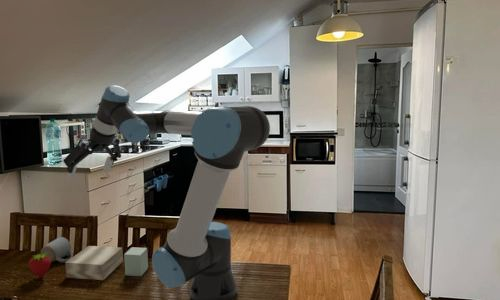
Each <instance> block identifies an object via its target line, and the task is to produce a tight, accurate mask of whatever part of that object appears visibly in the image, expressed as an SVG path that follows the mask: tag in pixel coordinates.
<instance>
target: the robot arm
mask: <svg viewBox="0 0 500 300" xmlns="http://www.w3.org/2000/svg"><path fill="white" fill-rule="evenodd" d="M130 97H131V96H130V93H129V91H128V90H127V89H125V88H124V87H122V86H119V85H108V86H107V87H106V88H105V89H104V92H103V94H102V96H101V100H100V102H99V106H98V109H97V112H96V115H95V117H94V121H93V125H92V127H91V130H90V132H89V139H88V140H83V139H79V141H78V142H77V144H76V146H75V147H74V148H73V149H71V151H70V152H69V153H68V155H67V156H66V157H65V158H64V159H63V161H62V162H63V163H64V165H65V166H66V167H67V168H66V171H67V174H66V177H67V179H68V180H69V181H70V182H72V181H73V180H74V176H75V174H76V171H77V167H78V166H77V165H78V164H80V162H82V161H83V160H85V158H87V157H88V156H89V155H93V153H97V152H103V151H104V150H105V151H106V152H107V154H108V156H107V157H106V160H105V162H104V166H103V167H102V170H103V171H104V173H105V174H109V173H110V170H111V167H112V166H113V165H114V163H115V162H117V161H118V159H120V158H122V154H121V148H120V143H121V141H120V139H119V138H118V137H117V134H116V133H117V131H118V132H119V133H120V135H121V136H122V137H124V138H125V139H126V141H128V142H129V143H130V144H139V143H140V142H143V141H144V140H145V139H147V138H148V136H149V135H155V134H168V135H169V134H170V135H171V134H172V135H173V134H174V135H182V136H183V135H184V136H190V138H191V139H192V142H191V144H192V146H193V149H194V155H195V157H196V159H197V160H198V161H197V163H196V166H195V169H194V172H193V174H192V175H193V176H192V179H191V181H190V184H189V188H188V191H187V193H186V197H185V200H184V202H183V206H182V209H181V211H180V215H179V218H178V220H177V225H176V226H175V228H172V229H171V230H170V231H169V232H168V234H167V237H166V240H165V243H164V245H162V246H161V247H160V246H159V247H158V248H157V249H156V250H154V251H153V253H152V256H151V263H152V268H153V271H154V273H155V275H156V276H157V278H158V279H159V281H160V282H161V283H162V284H163V285H165V287H168V288H175V289H176V288H178V287H179V286H182V285H185V284H186V283H187V282H188V281H190V280H191V282H190V286H189V295H190V298H191V299H192V300H232V299H234V297H235V296H236V294H237V282H236V279H235V276H234V273H233V271H232V245H231V244H232V236H231V235H232V233H231V228H230V227H229V226H228V225H227V224H225V223H222V222H218V221H213V219H214V216H215V214H216V210H217V209H218V208H217V207H218V205H219V202H220V200H221V197H222V195H223V192H224V188H225V186H226V184H227V182H228V179H229V176H230V174H231V171H234V170H237V169H238V168H239V166H240V163H241V161H242V159H243V156H244V154H245V152H249V151H250V152H251V151H254V150H257V149H259V148H260V147H261V146H263V145H264V144H265V142H267V140H268V139H269V136H270V132H271V130H270V129H271V125H270V121H269V118H268V117H267V114H265V113H264V111H263V110H261V109H259V108H258V107H256V106H251V105H250V106H249V105H244V106H243V105H242V106H227V105H226V106H225V105H220V106H216V107H209V108H207V109H205V110H203V111H179V110H177V111H176V110H170V109H169V110H168V109H167V110H155V111H150V110H149V111H135V109H133V107H132V106H131V105H130V104H129V101H130ZM111 145H112V146H113V150H114V153H113V151H112V150H111V148H110V147H109V146H111Z"/></svg>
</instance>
